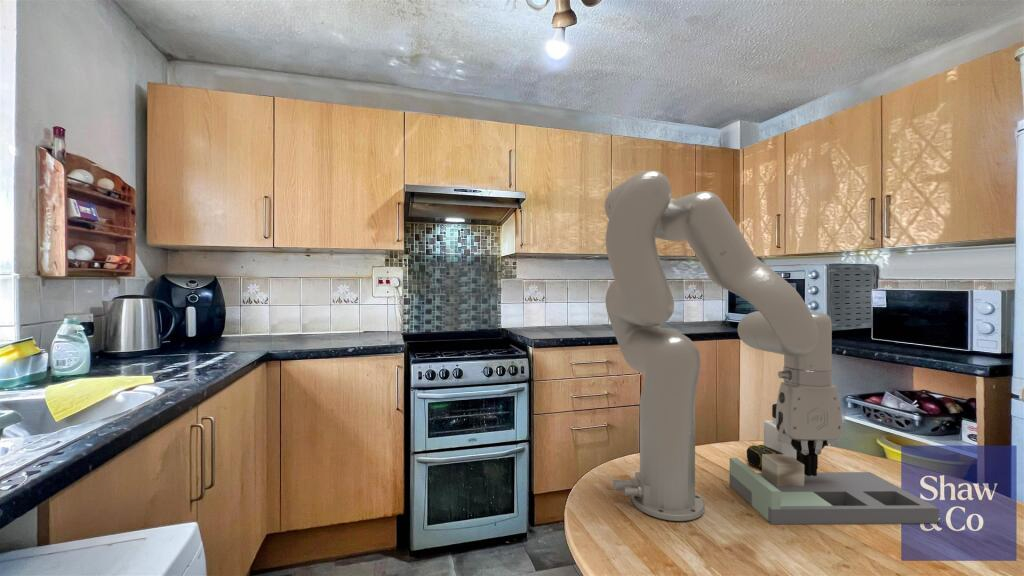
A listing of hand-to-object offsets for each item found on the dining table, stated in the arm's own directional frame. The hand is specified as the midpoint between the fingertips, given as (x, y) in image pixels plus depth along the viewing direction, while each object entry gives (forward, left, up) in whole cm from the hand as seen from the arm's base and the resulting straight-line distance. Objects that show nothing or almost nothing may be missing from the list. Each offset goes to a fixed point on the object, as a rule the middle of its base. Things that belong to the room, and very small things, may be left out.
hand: (806, 472), depth 84 cm
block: (-5, 0, -1) cm, 5 cm away
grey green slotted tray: (+1, -4, -4) cm, 5 cm away
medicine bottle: (+8, +18, -4) cm, 21 cm away
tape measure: (0, +13, -4) cm, 14 cm away
